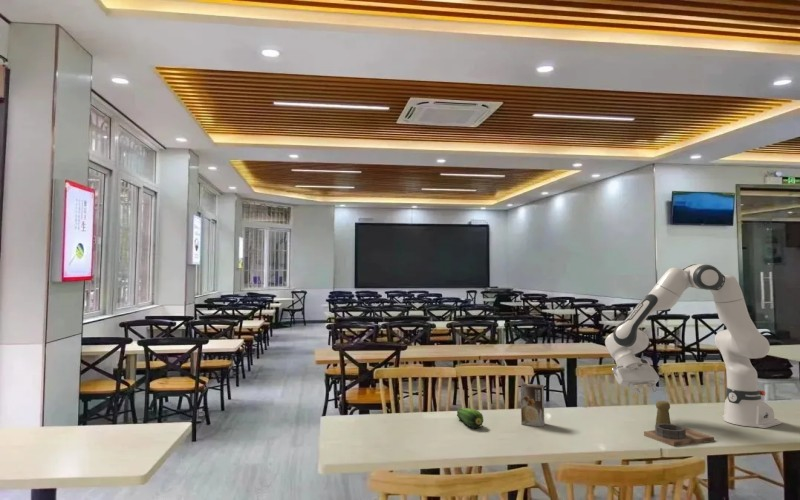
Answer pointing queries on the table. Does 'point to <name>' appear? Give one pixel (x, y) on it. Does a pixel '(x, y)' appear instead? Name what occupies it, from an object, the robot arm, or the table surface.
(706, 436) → the caddy board
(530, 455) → the table surface
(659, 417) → the cork
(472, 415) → the vegetable
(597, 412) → the table surface
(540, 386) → the coffee box
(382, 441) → the table surface
